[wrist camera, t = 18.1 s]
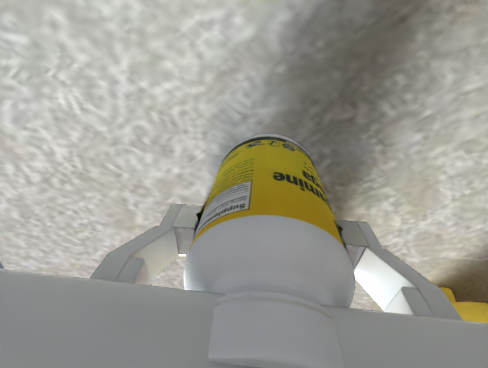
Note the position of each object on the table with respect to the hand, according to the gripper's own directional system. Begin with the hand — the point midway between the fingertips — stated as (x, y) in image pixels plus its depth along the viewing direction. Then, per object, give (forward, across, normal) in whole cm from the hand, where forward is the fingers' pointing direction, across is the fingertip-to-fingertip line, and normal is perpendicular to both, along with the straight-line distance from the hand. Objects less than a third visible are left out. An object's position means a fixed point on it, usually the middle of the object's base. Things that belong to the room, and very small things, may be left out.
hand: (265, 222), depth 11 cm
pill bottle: (+5, 0, 0) cm, 5 cm away
